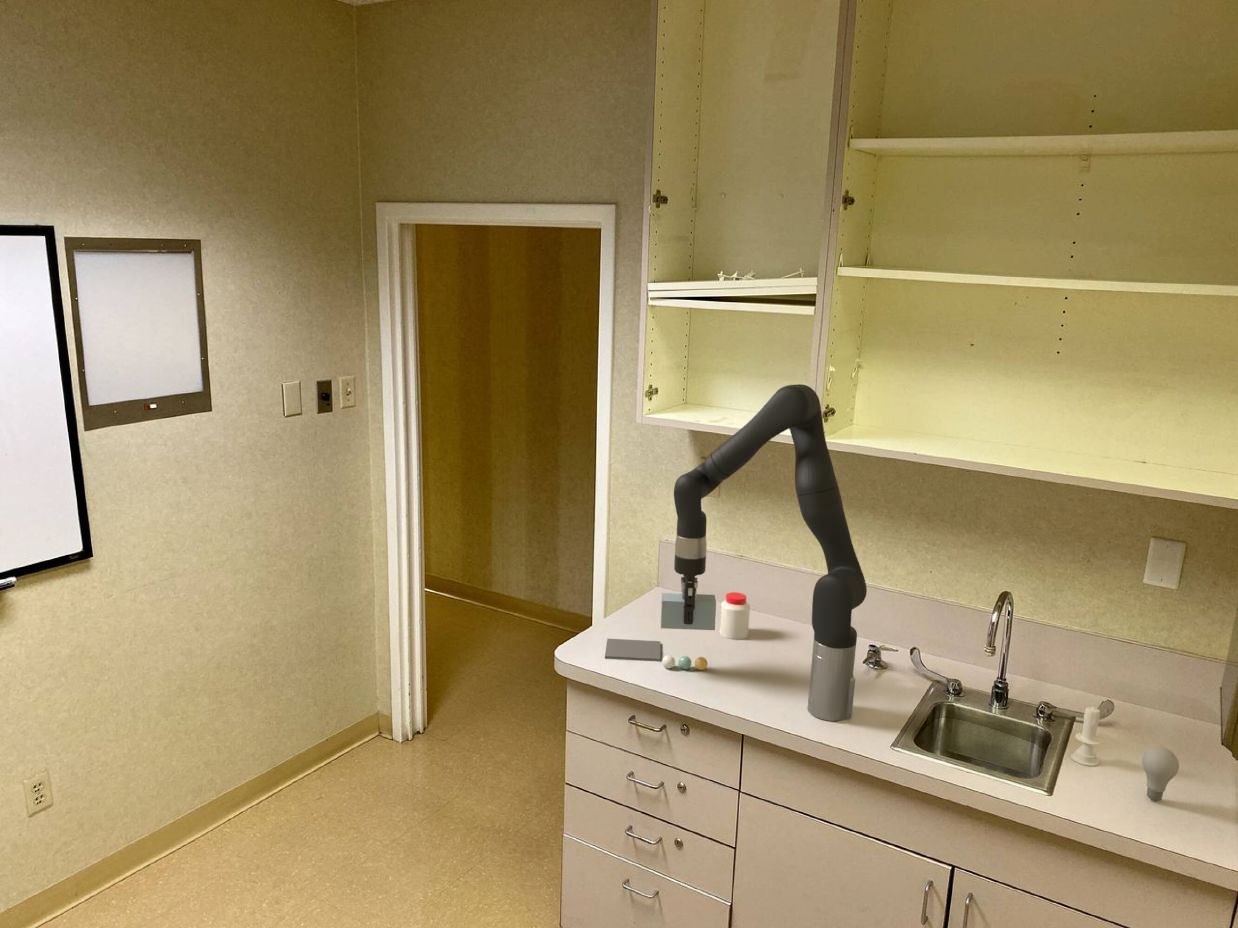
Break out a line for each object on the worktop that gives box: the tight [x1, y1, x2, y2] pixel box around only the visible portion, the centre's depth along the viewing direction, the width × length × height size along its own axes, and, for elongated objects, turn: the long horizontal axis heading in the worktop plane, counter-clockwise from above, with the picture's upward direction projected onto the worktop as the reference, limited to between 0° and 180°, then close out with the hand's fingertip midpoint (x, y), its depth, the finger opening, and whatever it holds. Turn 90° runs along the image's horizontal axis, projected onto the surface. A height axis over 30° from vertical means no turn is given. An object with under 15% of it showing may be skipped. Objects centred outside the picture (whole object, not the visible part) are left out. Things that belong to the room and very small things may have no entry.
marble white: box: [661, 654, 676, 669], centre depth 223 cm, size 3×3×3 cm
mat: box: [604, 638, 661, 662], centre depth 232 cm, size 14×11×1 cm
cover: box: [660, 592, 717, 631], centre depth 220 cm, size 13×6×7 cm, turn 88°
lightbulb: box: [1141, 745, 1180, 802], centre depth 172 cm, size 6×6×11 cm
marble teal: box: [678, 655, 692, 670], centre depth 223 cm, size 3×3×3 cm
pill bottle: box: [719, 591, 751, 641], centre depth 244 cm, size 8×8×11 cm
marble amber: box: [694, 656, 708, 671], centre depth 223 cm, size 3×3×3 cm
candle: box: [1070, 705, 1102, 767], centre depth 186 cm, size 5×5×12 cm
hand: (687, 618), depth 220 cm, fingers closed on cover, 5 cm apart
